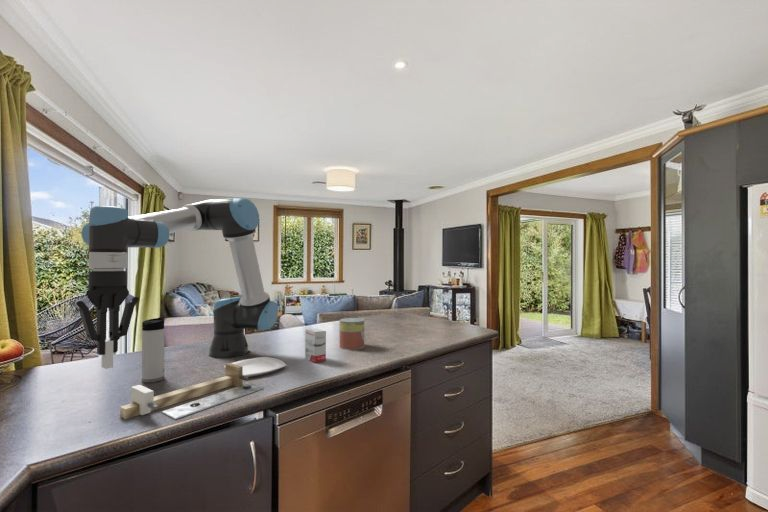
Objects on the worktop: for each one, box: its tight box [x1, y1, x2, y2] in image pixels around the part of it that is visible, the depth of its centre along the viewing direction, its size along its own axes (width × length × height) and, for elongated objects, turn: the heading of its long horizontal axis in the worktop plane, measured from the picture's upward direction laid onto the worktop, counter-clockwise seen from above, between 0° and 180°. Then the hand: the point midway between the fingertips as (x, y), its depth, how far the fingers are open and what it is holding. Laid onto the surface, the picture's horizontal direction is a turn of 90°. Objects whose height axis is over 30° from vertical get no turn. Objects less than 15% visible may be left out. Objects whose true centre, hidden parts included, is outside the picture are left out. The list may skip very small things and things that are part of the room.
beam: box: [119, 362, 249, 420], centre depth 103 cm, size 32×10×6 cm, turn 145°
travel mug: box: [141, 316, 165, 384], centre depth 120 cm, size 6×7×20 cm
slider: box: [130, 384, 159, 416], centre depth 93 cm, size 2×12×6 cm, turn 55°
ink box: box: [304, 327, 327, 364], centre depth 143 cm, size 8×5×12 cm, turn 39°
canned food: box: [339, 317, 365, 351], centre depth 164 cm, size 11×11×12 cm
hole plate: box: [161, 382, 265, 420], centre depth 103 cm, size 7×26×1 cm, turn 145°
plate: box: [223, 356, 287, 378], centre depth 131 cm, size 19×19×2 cm
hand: (107, 367), depth 89 cm, fingers closed
